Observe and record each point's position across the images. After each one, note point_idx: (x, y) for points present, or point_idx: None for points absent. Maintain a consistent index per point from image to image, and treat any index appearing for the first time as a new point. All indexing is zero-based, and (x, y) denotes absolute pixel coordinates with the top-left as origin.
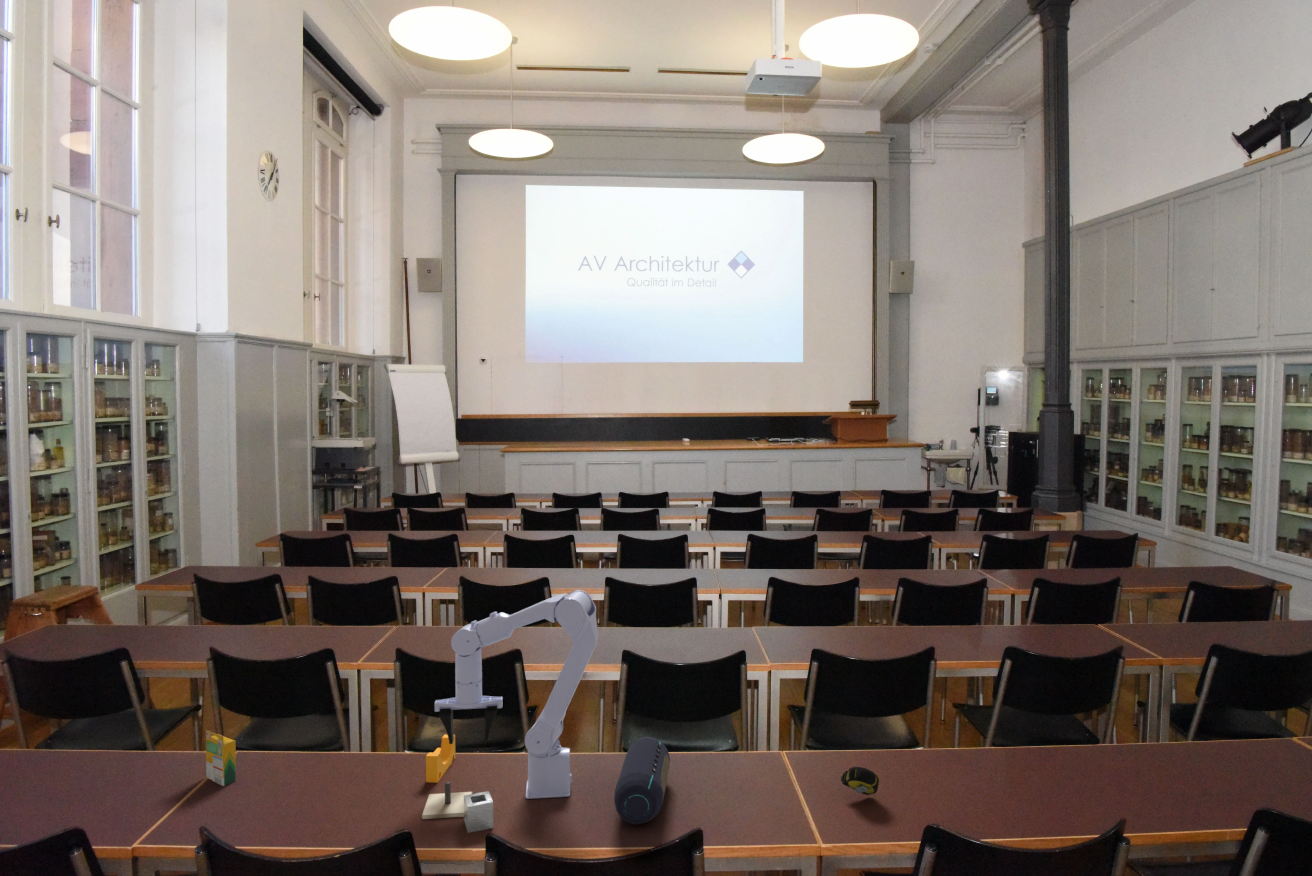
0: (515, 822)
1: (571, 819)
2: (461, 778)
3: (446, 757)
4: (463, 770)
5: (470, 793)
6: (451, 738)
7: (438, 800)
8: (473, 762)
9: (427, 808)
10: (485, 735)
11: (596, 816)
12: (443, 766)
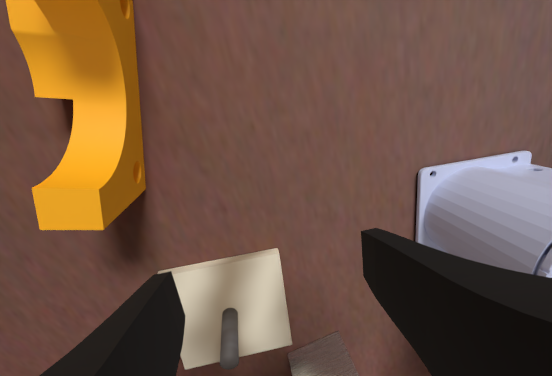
0: (394, 343)
1: None
2: (212, 145)
3: (104, 55)
4: (199, 80)
5: (276, 262)
6: (176, 355)
7: (198, 305)
8: (216, 2)
9: (185, 343)
10: (388, 311)
11: None
12: (128, 134)
